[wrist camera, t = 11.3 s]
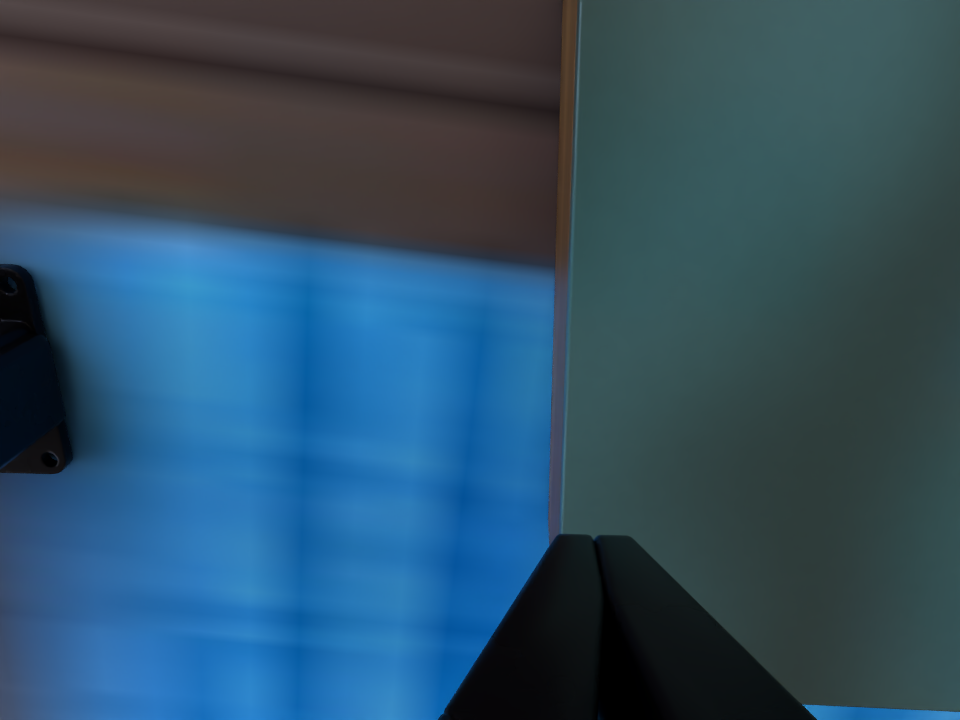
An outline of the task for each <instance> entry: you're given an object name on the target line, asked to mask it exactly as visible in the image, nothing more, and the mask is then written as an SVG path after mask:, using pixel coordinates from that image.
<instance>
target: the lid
mask: <svg viewBox="0 0 960 720" xmlns="http://www.w3.org/2000/svg"><path fill="white" fill-rule="evenodd" d="M559 534H588V535H590V536H592V538H593V539H595V537H596V536H598V535H627V536H630V537H632V538H633V539H634V540H635V541H636V542H637V543H638V544H639V545H640V546H641V547H642V548H643V549H644V550H645V551H646V552H647V553H648V554H649V555H650V556H651V557H652V558H653V559H655V560H656V561H657V562H658V563H659V564H660V565H661V566H662V567H663V568H664V569H665V570H666V571H667V572H668V573H669V574H670V575H671V576H672V577H673V578H674V579H675V580H676V581H677V582H678V583H679V584H680V585H681V586H682V587H683V588H684V589H685V590H686V591H687V592H688V593H689V594H690V595H691V596H692V597H693V598H694V599H695V600H696V601H697V602H698V603H699V604H700V605H701V606H702V607H703V608H704V609H705V610H706V611H707V612H708V613H709V614H710V615H711V616H712V617H713V618H714V619H715V620H716V621H717V622H718V623H719V624H720V625H722V626H723V627H724V628H725V629H726V630H727V631H728V632H729V633H730V634H731V635H732V636H733V637H734V638H735V639H736V640H737V641H738V642H739V643H740V644H741V645H742V646H743V647H744V648H745V649H746V650H747V651H748V652H749V653H750V654H751V655H752V656H753V657H754V658H755V659H756V660H757V661H758V662H759V663H760V664H761V665H762V666H763V667H764V668H765V669H766V670H767V671H768V672H769V673H770V674H771V675H772V676H773V677H774V678H775V679H776V680H777V681H778V682H779V683H780V684H781V685H782V686H783V687H784V688H785V689H786V690H788V691H789V692H790V693H791V694H792V695H793V696H794V697H795V698H796V699H797V700H798V701H799V702H800V703H801V704H805V705H826V706H847V707H868V708H889V709H911V710H932V711H953V712H960V0H577V22H576V51H575V79H574V108H573V137H572V166H571V195H570V224H569V253H568V282H567V311H566V340H565V369H564V398H563V427H562V456H561V485H560V514H559Z"/></svg>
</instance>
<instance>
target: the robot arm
mask: <svg viewBox="0 0 960 720" xmlns="http://www.w3.org/2000/svg"><path fill="white" fill-rule="evenodd" d="M8 277H10V278H11V279H13V280H14V281H15V283H16V285H17V290H15V289H13V288H12V287H11V286H10V285H9V283H8ZM49 453H52V454H54V455H55V456H56V458H57V460H54V459H53V458H52V457H51V456H50V454H49ZM72 459H73V457H72V449H71V445H70V441H69V436H68V432H67V427H66V423H65V410H64V406H63V401H62V397H61V393H60V388H59V384H58V379H57V375H56V370H55V366H54V361H53V357H52V353H51V348H50V344H49V342H48V340H47V339H46V334H45V330H44V326H43V321H42V317H41V312H40V308H39V304H38V299H37V295H36V290H35V286H34V282H33V279H32V277H31V275H30V274H29V273H28V271H27V270H26V269H24V268H22V267H21V266H18V265H13V264H0V473H35V474H55V473H59V472H61V471H62V470H64V469H65V468H66V467H67V466H68V465H69V464H70V463H71V461H72ZM438 720H817V719H816V718H815V717H814V716H813V715H812V714H811V713H810V712H809V711H808V710H807V709H806V708H805V707H804V706H803V705H802V704H801V703H800V702H799V701H798V700H797V699H796V698H795V697H794V696H793V695H792V694H791V693H790V692H789V691H788V690H786V689H785V688H784V687H783V686H782V685H781V684H780V683H779V682H778V681H777V680H776V679H775V678H774V677H773V676H772V675H771V674H770V673H769V672H768V671H767V670H766V669H765V668H764V667H763V666H762V665H761V664H760V663H759V662H758V661H757V660H756V659H755V658H754V657H753V656H752V655H751V654H750V653H749V652H748V651H747V650H746V649H745V648H744V647H743V646H742V645H741V644H740V643H739V642H738V641H737V640H736V639H735V638H734V637H733V636H732V635H731V634H730V633H729V632H728V631H727V630H726V629H725V628H724V627H723V626H722V625H720V624H719V623H718V622H717V621H716V620H715V619H714V618H713V617H712V616H711V615H710V614H709V613H708V612H707V611H706V610H705V609H704V608H703V607H702V606H701V605H700V604H699V603H698V602H697V601H696V600H695V599H694V598H693V597H692V596H691V595H690V594H689V593H688V592H687V591H686V590H685V589H684V588H683V587H682V586H681V585H680V584H679V583H678V582H677V581H676V580H675V579H674V578H673V577H672V576H671V575H670V574H669V573H668V572H667V571H666V570H665V569H664V568H663V567H662V566H661V565H660V564H659V563H658V562H657V561H656V560H655V559H653V558H652V557H651V556H650V555H649V554H648V553H647V552H646V551H645V550H644V549H643V548H642V547H641V546H640V545H639V544H638V543H637V542H636V541H635V540H634V539H633V538H632V537H630V536H627V535H598V536H596V537H595V539H593V538H592V536H590V535H588V534H558V535H557V536H556V537H555V538H554V540H553V541H552V543H551V544H550V546H549V548H548V549H547V551H546V552H545V554H544V555H543V557H542V558H541V560H540V562H539V563H538V565H537V566H536V568H535V569H534V571H533V572H532V574H531V576H530V577H529V579H528V580H527V582H526V583H525V585H524V587H523V588H522V590H521V591H520V593H519V594H518V596H517V597H516V599H515V601H514V602H513V604H512V605H511V607H510V608H509V610H508V611H507V613H506V615H505V616H504V618H503V619H502V621H501V622H500V624H499V626H498V627H497V629H496V630H495V632H494V633H493V635H492V636H491V638H490V640H489V641H488V643H487V644H486V646H485V647H484V649H483V650H482V652H481V654H480V655H479V657H478V658H477V660H476V661H475V663H474V665H473V666H472V668H471V669H470V671H469V672H468V674H467V675H466V677H465V679H464V680H463V682H462V683H461V685H460V686H459V688H458V689H457V691H456V693H455V694H454V696H453V697H452V699H451V700H450V702H449V704H448V705H447V707H446V708H445V711H444V714H442V715H441V716H440V717H439V718H438Z"/></svg>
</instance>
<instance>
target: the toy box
mask: <svg viewBox="0 0 960 720" xmlns="http://www.w3.org/2000/svg"><path fill="white" fill-rule="evenodd" d="M576 22H577V0H563V13H562V48H561V83H560V119H559V154H558V189H557V224H556V260H555V295H554V330H553V365H552V401H551V436H550V471H549V506H548V528H549V546H550V544H551V543H552V541H553V540H554V538H555V537H556V536H557V535H558V534H559V514H560V485H561V456H562V427H563V398H564V369H565V340H566V311H567V282H568V253H569V224H570V195H571V166H572V137H573V108H574V79H575V51H576Z"/></svg>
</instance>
